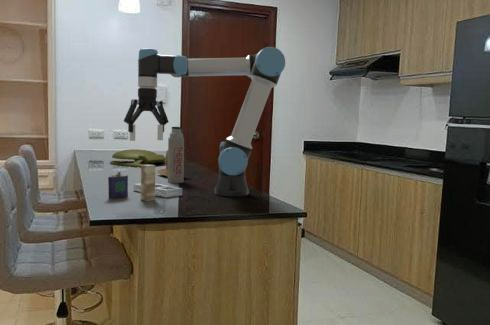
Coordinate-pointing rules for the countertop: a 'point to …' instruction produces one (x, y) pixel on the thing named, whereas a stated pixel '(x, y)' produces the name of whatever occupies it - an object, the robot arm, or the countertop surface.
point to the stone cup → (165, 171)
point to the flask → (118, 186)
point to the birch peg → (148, 182)
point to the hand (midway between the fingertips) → (146, 140)
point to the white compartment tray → (162, 190)
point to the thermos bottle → (175, 156)
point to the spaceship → (137, 157)
